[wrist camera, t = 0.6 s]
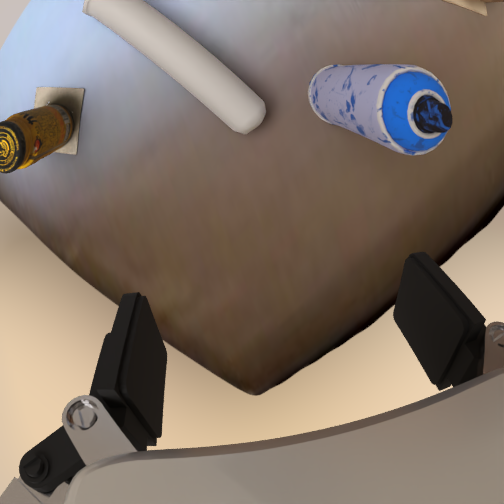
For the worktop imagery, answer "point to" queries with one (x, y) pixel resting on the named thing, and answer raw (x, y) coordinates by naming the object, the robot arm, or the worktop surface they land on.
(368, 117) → the aerosol can
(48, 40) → the worktop surface
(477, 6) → the base board
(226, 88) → the tube
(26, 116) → the condiment
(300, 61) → the worktop surface
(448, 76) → the worktop surface
